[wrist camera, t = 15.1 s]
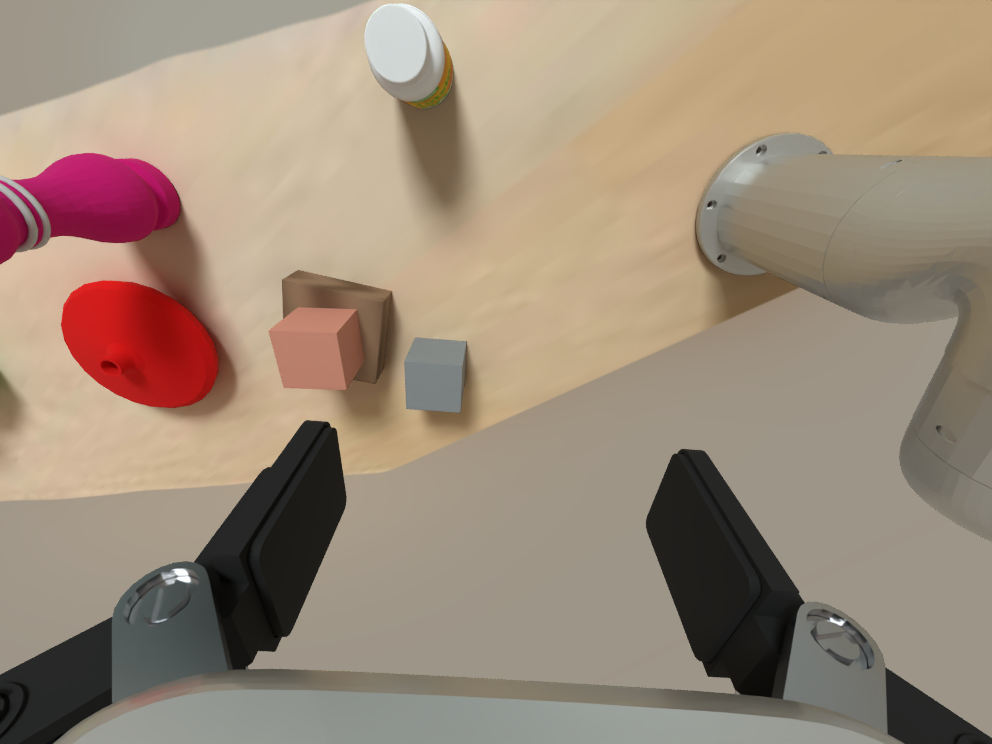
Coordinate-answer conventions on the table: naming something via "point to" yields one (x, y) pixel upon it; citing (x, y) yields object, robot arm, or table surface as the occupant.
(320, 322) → the salmon pink cube
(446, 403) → the grey cube
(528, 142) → the table surface
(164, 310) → the flat cone with hole
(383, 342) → the walnut block
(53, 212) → the pepper mill
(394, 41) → the supplement bottle
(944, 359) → the robot arm
